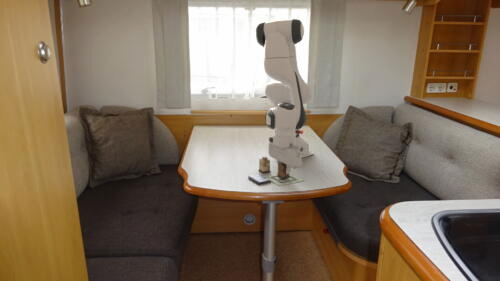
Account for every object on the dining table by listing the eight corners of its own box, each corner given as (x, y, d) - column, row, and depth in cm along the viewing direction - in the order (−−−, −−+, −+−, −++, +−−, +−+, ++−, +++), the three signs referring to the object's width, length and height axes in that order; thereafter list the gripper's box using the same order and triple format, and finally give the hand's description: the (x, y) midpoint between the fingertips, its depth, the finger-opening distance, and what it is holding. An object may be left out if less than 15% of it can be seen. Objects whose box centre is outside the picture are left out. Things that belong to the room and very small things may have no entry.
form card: (287, 172, 170) (287, 171, 170) (303, 180, 160) (304, 179, 160) (264, 177, 163) (264, 176, 163) (279, 186, 153) (279, 185, 153)
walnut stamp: (284, 175, 164) (285, 160, 162) (289, 177, 161) (290, 162, 159) (277, 176, 162) (277, 161, 160) (282, 179, 159) (282, 164, 157)
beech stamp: (265, 169, 173) (266, 155, 171) (270, 172, 170) (270, 157, 168) (258, 171, 171) (258, 156, 169) (263, 173, 168) (263, 159, 166)
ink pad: (259, 176, 165) (259, 173, 164) (270, 182, 157) (270, 180, 157) (248, 178, 162) (248, 175, 161) (258, 185, 154) (258, 182, 154)
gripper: (306, 146, 150) (304, 178, 154) (278, 135, 167) (277, 163, 171) (293, 148, 147) (292, 180, 151) (266, 136, 164) (265, 165, 168)
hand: (283, 171), depth 161 cm, fingers closed on walnut stamp, 3 cm apart
